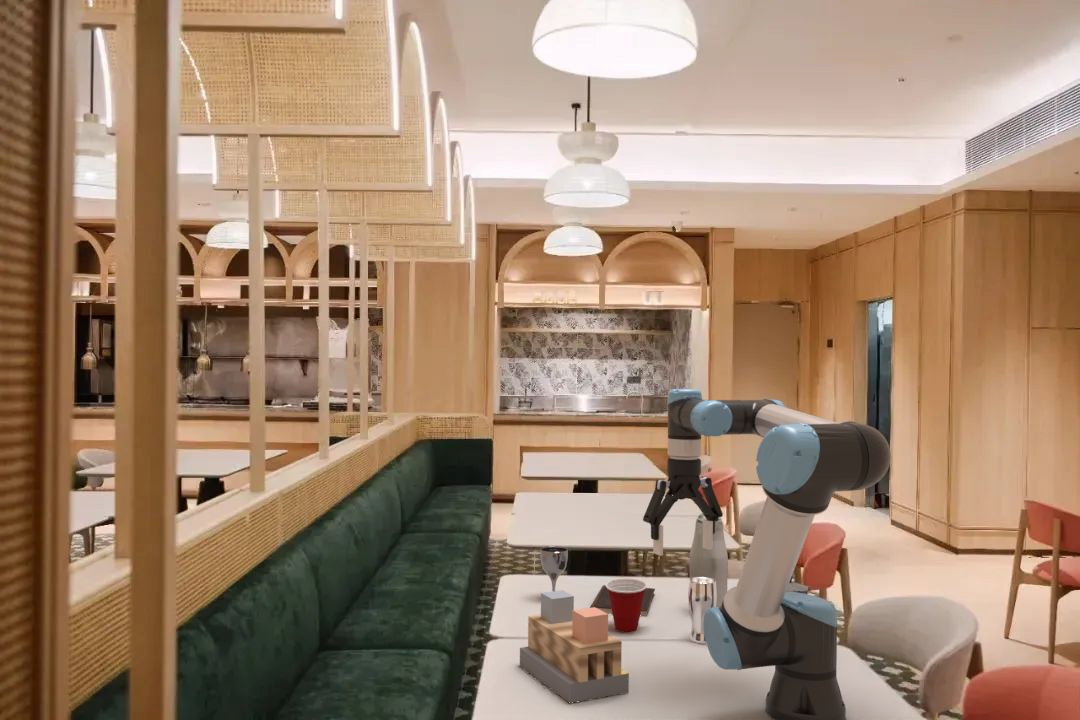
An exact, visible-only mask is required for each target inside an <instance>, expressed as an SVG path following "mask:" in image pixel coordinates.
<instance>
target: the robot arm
mask: <svg viewBox="0 0 1080 720" xmlns="http://www.w3.org/2000/svg"><path fill="white" fill-rule="evenodd" d="M667 397H668V398H667V403H666V404H667V405H666V406H667V455H668V458H667V467H666V469H667V470H666V472H667V475H668V479H667V480H661V479H656V481H655V485H654V491H653V493H652V496H651V499H650V501H649V502H648V506H647V508H646V509H645V512H644V516H643V517H642V521H643V522H644V523H647V524H650V538H651V540H653V541H652V543H653V545H652V550H653V552H652V553H653V554H655V555H657V556H660V557H661V556H664V525H663V524H662V522H663V521H664V519H665V518H666V516H667V515H668V513H669V512H670V510H671V508H672V507H673V506H674V504H675V503H676V502H678V501H679V500H682V501H683V500H686V499H687V500H688V499H689V500H691V499H692V500H693V502H694V503H695V504H696V506H697V507H698V508H699V510H700V511H701V514H702V513H703V514H704V516H705V517H706V518H707V519H703V548H705V549H708V550H713V534H714V533H715V521H718V519H719V518H718V517H721V518H722V517H723V515H724V513H723V511H722V508H721V506H720V503H719V500H718V499H717V496H716V494H715V491H714V488H713V483H712V482H713V481H712V478H711V477H708V476H707V477H706V476H701V474H702V460H701V458H700V457H701V456H702V436H704V437H721V436H724V435H725V436H728V435H730V436H731V435H756V436H758V437H761V438H762V439H761V441H760V444H759V446H758V448H757V453H756V459H755V460H756V461H755V462H757V466H756V468H755V469H756V474H757V478H758V480H759V483H760V484H761V486H762V487H761V488H762V490H763V491H762V492H764V495H765V496H766V499H765V502H764V505H763V507H762V510H761V513H760V516H759V517H760V518H759V519H758V522H757V525H756V527H755V530H754V531H755V532H754V534H753V536H752V539H751V543H750V546H749V548H748V552H747V553H746V558H745V560H744V563H743V566H742V569H741V573H740V574H739V575H740V576H739V578H738V581H737V584H736V586H734V587H731V588H729V589H727V592H726V594H725V596H724V599H723V602H722V605H721V606H720V607H716V606H714V607H712V608H709V609H707V610H706V612H705V615H704V621H703V627H704V635H705V640H706V647H707V649H708V652H709V654H710V657H711V659H712V660H713V662H714V663H715V664H716V665H717V666H718V667H719V668H721V669H722V670H725V671H727V670H731V671H733V670H734V671H735V670H737V671H742V670H746V669H757V668H764V667H773V666H775V668H774V674H773V676H772V679H771V683H770V687H769V691H767V693H766V696H765V710H766V713H767V714H768V715H769V717H771V718H772V719H775V720H846V719H845V718H846V714H847V713H846V711H847V709H846V705H845V702H844V700H843V695H842V693H841V688H840V686H839V682H838V679H837V662H838V661H837V658H838V653H837V650H838V647H837V646H838V644H837V643H838V628H839V625H838V614H837V608H836V607H835V605H834V604H833V603H832V602H830V601H828V600H826V599H824V598H823V597H819V596H815V595H812V594H803V593H797V592H786V590H787V587H788V585H789V582H790V579H791V577H792V575H793V574H794V572H795V568H796V567H797V563H798V561H799V558H800V555H801V553H802V550H803V549H804V544H805V542H806V539H807V538H808V535H809V531H810V528H811V526H812V524H813V522H814V518H815V516H816V515H820V514H822V513H824V512H825V511H826V510H827V509H828V507H829V505H830V503H831V500H832V498H833V495H834V493H836V492H851V491H852V492H853V491H862V490H866V489H867V488H871V487H872V486H874V485H876V484H877V483H878V482H880V481H881V480H882V479H883V478H884V477H885V475H886V473H887V472H888V470H889V468H890V464H891V460H892V456H891V455H892V454H891V449H890V448H891V447H890V444H889V443H888V441H887V439H886V437H885V436H884V435H883V434H882V433H881V431H879V430H878V429H876V428H875V427H872V426H871V425H868V424H863V423H859V422H856V421H850V420H845V421H841V422H836V421H832V420H831V419H830V420H829V419H826V418H822V417H820V416H819V417H818V416H815V415H812V414H808V413H805V412H802V411H798V410H796V409H795V410H794V409H791V408H789V407H786V405H784V403H783V402H782V401H780V400H778V399H777V400H776V399H770V398H769V399H768V398H763V399H703V396H702V391H701V390H700V389H694V388H673V389H670V390H669V392H668V396H667ZM700 476H701V477H700ZM700 487H701V490H702V493H703V494H702V493H701V492H700V490H699V489H700ZM666 491H667V492H666ZM703 495H704V497H705V499H704V497H703ZM792 578H793V577H792Z"/></svg>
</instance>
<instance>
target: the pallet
mask: <svg viewBox="0 0 1080 720" xmlns="http://www.w3.org/2000/svg"><path fill="white" fill-rule="evenodd" d="M527 620H528V621H527V623H528V626H527V627H528V629H527V640H528V641H527V645H528V646H527V647H529V648H531V649H532V650H534V651H535V652H536V653H538V654H539V655H541V656H542V657H543V658H545V659H546V660H548V661H549V662H551V663H552V664H553V665H555V666H556V667H558V668H559V669H561V670H562V671H563V672H565V673H566V674H568V675H569V676H571V677H572V678H573V679H575V680H576V681H578V682H579V683H580V682H586V681H588V674H590V675H591V676H593V677H594V678H596V679H602V678H604V671H605V672H607V673H608V674H610V675H611V676H618V675H621V669H622V641H621V640H620V639H618V638H616V637H614V636H612V635H611V634H609V633H608V640H607V641H601V642H595V643H588V644H584V643H583V642H581V641H579V640H578V639H576V638H574V637H573V636H572V621H568V622H561V623H554V624H551V623H550V622H548V621H546V620H545V619H543V618H541V613H540V614H534V615H528V619H527Z"/></svg>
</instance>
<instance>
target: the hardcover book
mask: <svg viewBox="0 0 1080 720" xmlns="http://www.w3.org/2000/svg"><path fill="white" fill-rule="evenodd" d="M655 590H656V588H651V587H650V588H649V587H647V588H646V589H645V593H644V597H643V602H642V608H641V614H640V615H641V616H640V617H647V614H648V612H649V609H650V606H651V603H652V600H653V597H654V594H655ZM593 607H595V608H597V609H599V610H601V611H603V612H605V613H607V614H608V613H612V609H611V602H610V596H609V592H608V589H607V588H606V585H605V584H603V585H602V586H601V587H600V590H599V591H598V593H597V595H596V596H595V598H594V599H593V601H592V603H591V605H590V606H589V608H593ZM647 611H648V612H647Z"/></svg>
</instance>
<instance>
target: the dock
mask: <svg viewBox="0 0 1080 720" xmlns="http://www.w3.org/2000/svg"><path fill="white" fill-rule="evenodd" d="M519 667H521V668H522V669H524V670H525V671H527V672H528V673H529V674H530V675H532V676H533V677H534V678H536V679H537V680H538V681H539V682H541V683H542V684H544V685H545V686H546V687H548V689H550V691H551V690H552V692H554V693H555V694H556V695H557V696H559V695H560V696H561V697H560V696H559V697H560V698H562V699H563V698H564V699H565V700H564V699H563V700H564V701H566V700H567V701H568V702H570V703H572V702H577V701H582V700H587V701H590V700H589V699H592V700H595V699H594V698H598V699H600V698H599V697H603V698H606V697H605V696H608V697H610V696H609V695H613V696H616V695H615V694H618V695H622V694H621V693H623V694H626V693H627V692H629V691H630V689H629V687H630V684H629V683H630V681H629V680H630V673H629V672H628V671H626V670H624V669H622V668H621V675H618V676H611V675H610V674H608V673H607V672H605V671H604V678H602V679H596V678H594V677H593V676H591V675H590V674H588V681H586V682H580V683H579V682H578V681H576V680H575V679H573V678H572V677H571V676H569V675H568V674H566V673H565V672H563V671H562V670H561V669H559V668H558V667H556V666H555V665H553V664H552V663H551V662H549V661H548V660H546V659H545V658H543V657H542V656H541V655H539V654H538V653H536V652H535V651H534V650H532V649H531V648H529V647H528V646H522V647H519ZM627 694H628V693H627ZM567 701H566V702H567ZM568 702H567V703H568ZM582 702H583V701H582ZM570 703H569V704H570ZM577 703H578V702H577ZM572 704H573V703H572Z"/></svg>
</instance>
